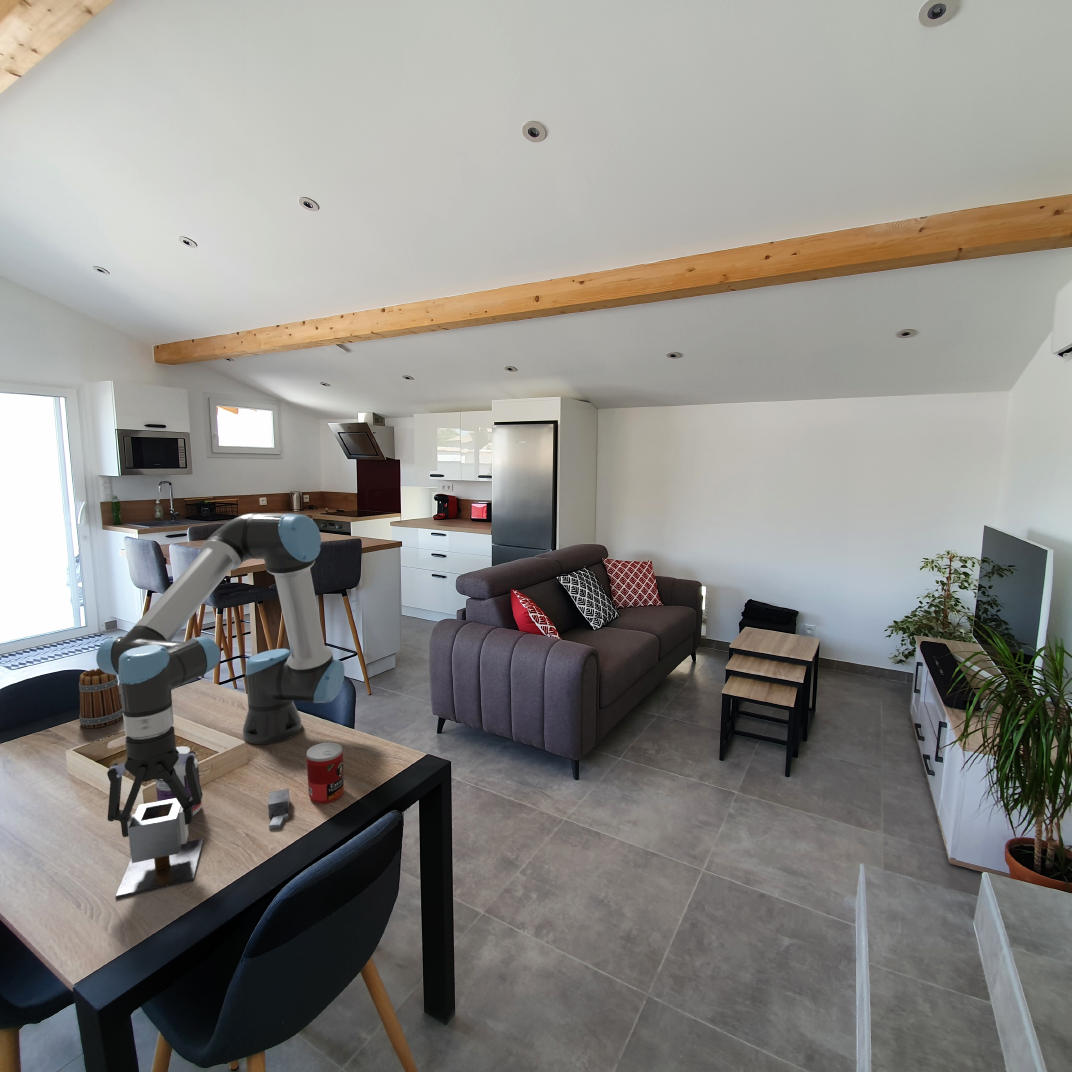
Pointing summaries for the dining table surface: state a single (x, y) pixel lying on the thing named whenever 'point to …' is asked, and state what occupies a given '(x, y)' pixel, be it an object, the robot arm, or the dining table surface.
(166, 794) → the pill bottle
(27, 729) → the dining table surface
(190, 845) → the keeper base
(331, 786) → the canned food
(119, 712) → the mug
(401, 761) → the dining table surface
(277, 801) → the grey block with tab
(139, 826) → the end link
